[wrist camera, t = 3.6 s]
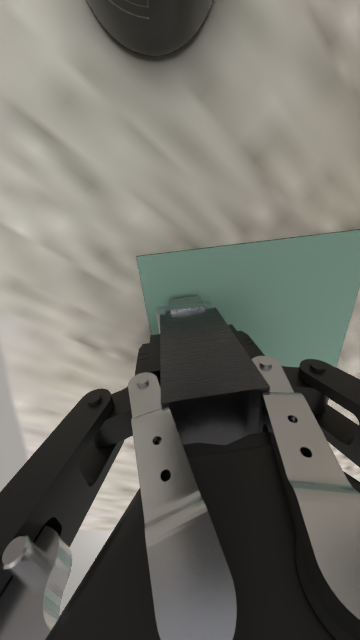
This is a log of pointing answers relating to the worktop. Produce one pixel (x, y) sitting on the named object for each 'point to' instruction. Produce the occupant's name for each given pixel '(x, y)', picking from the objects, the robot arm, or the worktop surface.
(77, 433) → the robot arm
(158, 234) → the worktop surface
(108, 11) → the supplement bottle
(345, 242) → the field
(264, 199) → the worktop surface
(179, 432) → the block
